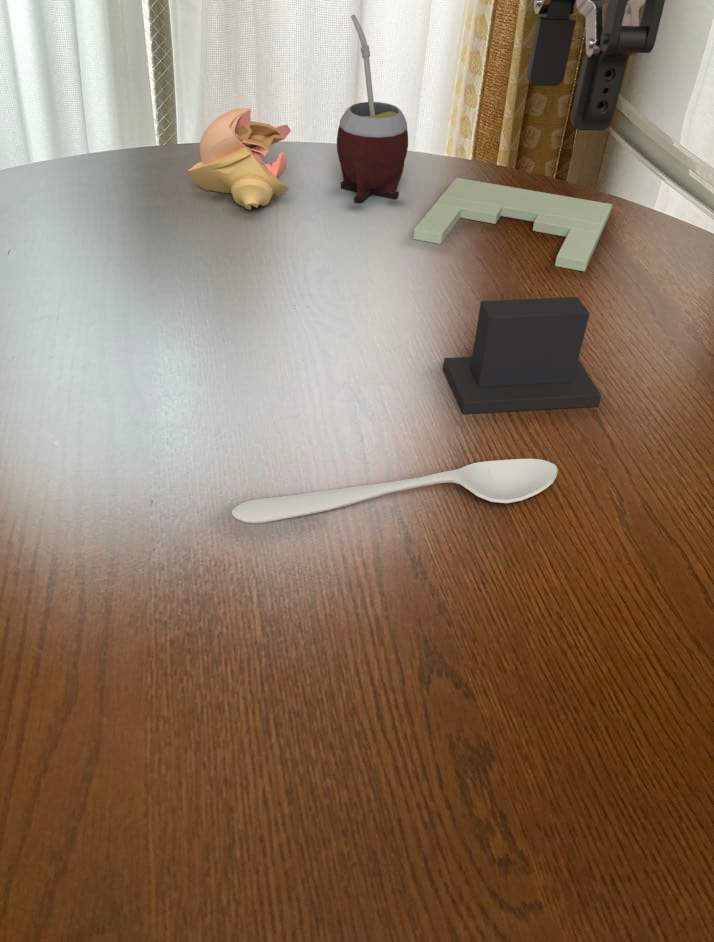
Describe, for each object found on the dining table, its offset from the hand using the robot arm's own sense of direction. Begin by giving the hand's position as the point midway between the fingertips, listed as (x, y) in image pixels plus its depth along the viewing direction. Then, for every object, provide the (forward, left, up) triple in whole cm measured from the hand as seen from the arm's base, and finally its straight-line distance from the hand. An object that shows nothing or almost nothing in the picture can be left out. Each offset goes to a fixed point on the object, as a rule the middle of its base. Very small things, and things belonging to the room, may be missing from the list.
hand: (565, 104), depth 55 cm
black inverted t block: (-1, +1, -19) cm, 19 cm away
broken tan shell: (+33, -22, -20) cm, 45 cm away
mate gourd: (+22, -29, -20) cm, 42 cm away
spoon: (+3, +17, -20) cm, 26 cm away
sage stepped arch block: (+6, -27, -19) cm, 34 cm away
